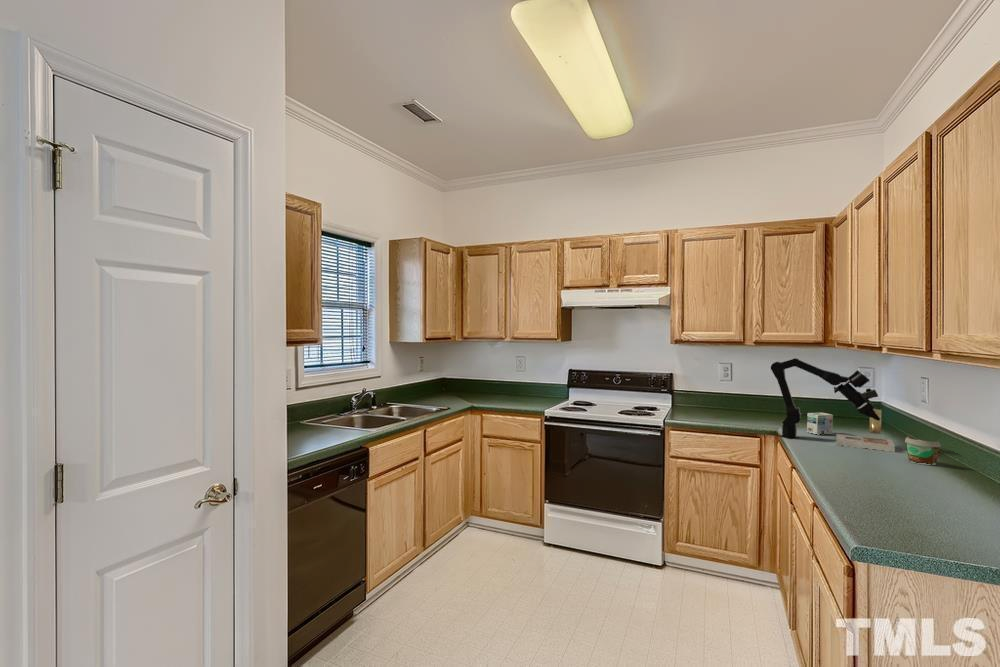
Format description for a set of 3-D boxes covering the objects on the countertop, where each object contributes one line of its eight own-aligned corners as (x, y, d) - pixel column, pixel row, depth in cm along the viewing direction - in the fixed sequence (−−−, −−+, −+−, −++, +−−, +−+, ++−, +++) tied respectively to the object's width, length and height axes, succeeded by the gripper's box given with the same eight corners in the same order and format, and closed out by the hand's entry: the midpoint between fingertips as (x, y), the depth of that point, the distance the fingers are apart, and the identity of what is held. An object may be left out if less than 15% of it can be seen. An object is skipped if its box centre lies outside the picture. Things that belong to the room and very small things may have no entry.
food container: (897, 459, 214) (898, 436, 214) (906, 458, 217) (907, 435, 217) (930, 467, 203) (931, 443, 203) (940, 466, 205) (940, 442, 205)
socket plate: (836, 445, 240) (836, 438, 240) (836, 439, 252) (836, 433, 252) (894, 452, 228) (894, 444, 228) (891, 446, 240) (891, 439, 239)
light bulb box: (817, 435, 262) (817, 415, 262) (806, 432, 268) (806, 412, 268) (833, 434, 265) (833, 414, 264) (821, 431, 271) (822, 412, 271)
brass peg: (877, 434, 234) (878, 410, 234) (867, 432, 238) (867, 409, 238) (883, 433, 236) (883, 410, 236) (872, 431, 240) (873, 408, 240)
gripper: (867, 385, 231) (897, 411, 225) (864, 381, 247) (892, 406, 241) (846, 400, 236) (874, 426, 230) (845, 396, 251) (871, 420, 245)
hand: (879, 419), depth 236 cm, fingers closed on brass peg, 4 cm apart
